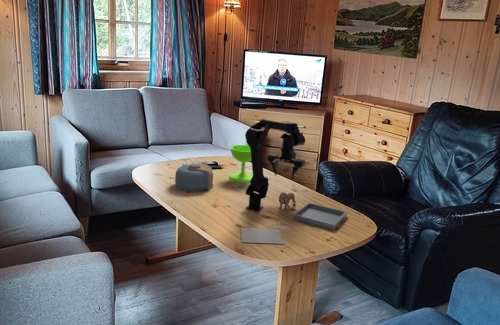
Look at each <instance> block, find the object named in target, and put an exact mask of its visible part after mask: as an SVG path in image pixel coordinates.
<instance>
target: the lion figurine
mask: <svg viewBox="0 0 500 325" xmlns="http://www.w3.org/2000/svg"><path fill="white" fill-rule="evenodd" d="M295 196H296V195H295V194H294V193H292V192H289V193H286V192H281V193H280V194H279V196H278V203H279V208H278V209H282V208H283V205H284V208H283V210H284V211H287V210H288V209H287V206H288V205H289V204H290V200H291V201H292V203H293V204H292V206H296V201H297V200H295Z"/></svg>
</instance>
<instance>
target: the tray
mask: <svg viewBox="0 0 500 325" xmlns="http://www.w3.org/2000/svg"><path fill="white" fill-rule="evenodd" d="M291 215H292V216H291V220H293V221H297V222H301V223H304V224H308V225H312V226H316V227H319V228H324V229H326V228H327V230H330V229H331V231H335V230H336V229H337V228H338V227H339V226H340V224H341V223H342V222H344V220H346V218H347V217H346V216H348V211H345V210H341V209H337V208H333V207H329V206H325V205H321V204H319V203H312V202H310V201H307V203H304V205H303V206H301V207H299V209H297V210H296V211H294V212H293V213H292V214H291ZM337 226H338V227H337ZM336 227H337V228H336ZM335 228H336V229H335ZM334 229H335V230H334Z"/></svg>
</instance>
